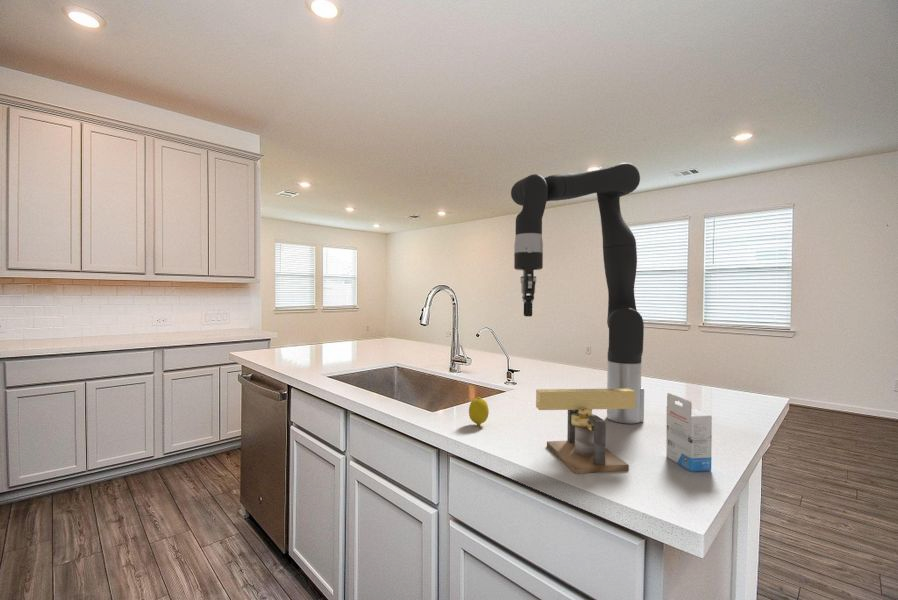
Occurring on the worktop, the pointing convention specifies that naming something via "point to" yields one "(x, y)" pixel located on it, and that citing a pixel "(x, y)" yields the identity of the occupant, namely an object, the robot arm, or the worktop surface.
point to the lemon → (478, 411)
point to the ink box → (688, 435)
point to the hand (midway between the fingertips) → (527, 316)
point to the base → (585, 460)
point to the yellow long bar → (584, 402)
